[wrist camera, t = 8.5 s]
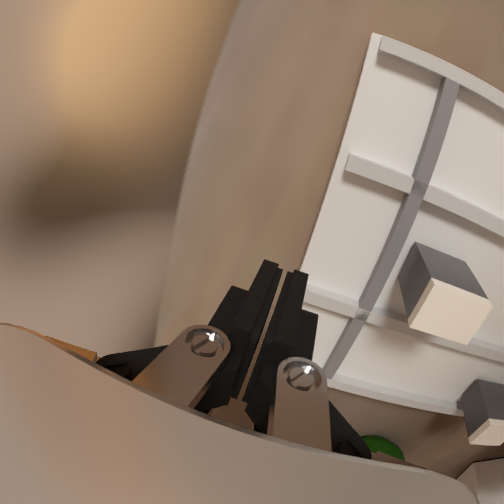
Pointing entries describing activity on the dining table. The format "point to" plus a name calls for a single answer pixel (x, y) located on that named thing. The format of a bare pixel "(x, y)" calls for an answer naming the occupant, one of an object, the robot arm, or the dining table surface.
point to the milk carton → (485, 480)
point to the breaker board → (409, 229)
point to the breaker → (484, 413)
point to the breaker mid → (442, 295)
